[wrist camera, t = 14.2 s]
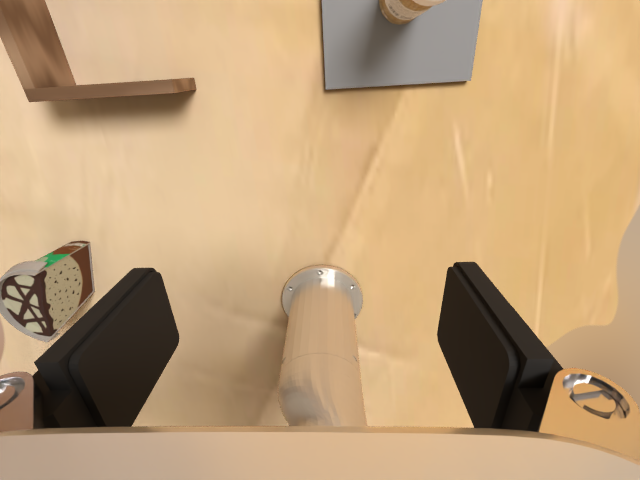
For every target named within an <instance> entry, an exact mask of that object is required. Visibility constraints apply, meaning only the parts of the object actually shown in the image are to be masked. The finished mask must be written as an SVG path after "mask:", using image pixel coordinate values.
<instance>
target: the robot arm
mask: <svg viewBox="0 0 640 480" xmlns="http://www.w3.org/2000/svg"><path fill="white" fill-rule="evenodd" d="M320 270H321V271H320ZM362 303H363V297H362V291H361V288H360V286H359V284H358V282H357V281H356V280H355V278H354V277H353V276H351V275H350V274H349V273H348V272H346V271H344V270H342V269H340V268H337V267H334V266H328V265H316V266H310V267H307V268H304V269H302V270H300V271H298V272H296V273H295V274H294V275H293V276H292V277H291V278H290V279H289V280H288V281H287V283H286V285H285V287H284V290H283V295H282V304H283V308H284V311H285V313H286V314H287V316H288V317H289V320H288V327H287V333H286V339H285V345H284V352H283V358H282V364H281V371H280V377H279V384H278V399H279V404H280V408H281V411H282V413H283V415H284V417H285V419H286V421H287V423H288V425H289V426H165V427H131V426H132V424H133V423H134V421H135V419H136V417H137V416H138V414H139V412H140V410H141V409H142V407H143V405H144V403H145V402H146V400H147V398H148V396H149V395H150V393H151V391H152V389H153V388H154V386H155V384H156V383H157V381H158V379H159V377H160V376H161V374H162V372H163V370H164V369H165V367H166V365H167V363H168V362H169V360H170V358H171V356H172V355H173V353H174V351H175V349H176V348H177V346H178V343H179V333H178V330H177V327H176V323H175V320H174V316H173V313H172V310H171V306H170V303H169V299H168V296H167V293H166V289H165V286H164V282H163V279H162V276H161V274H160V273H159V272H156V270H155V269H154V268H134V269H132V270H131V271H130V272H129V273H128V274H127V275H126V276H124V277H123V278H122V279H121V280H120V281H119V282H118V283H117V284H116V285H115V286H114V287H113V288H112V289H111V290H110V291H109V292H108V293H107V294H106V295H105V296H103V297H102V298H101V299H100V300H99V301H98V302H97V303H96V304H95V305H94V306H93V307H92V308H91V309H90V310H89V311H88V312H87V313H86V314H85V315H84V316H82V317H81V318H80V319H79V320H78V321H77V322H76V323H75V324H74V325H73V326H72V327H71V328H70V329H69V330H68V331H67V332H66V333H65V334H64V335H63V336H61V337H60V338H59V339H58V340H57V341H56V342H55V343H54V344H53V345H52V346H51V347H50V348H49V349H48V350H47V351H46V352H45V353H44V354H43V355H42V356H40V357H39V358H38V359H37V360H36V361H35V362H34V363H35V365H36V367H37V368H38V371H37V372H36V373H35V374H34V375H33V376H32V375H31V374H29V373H27V372H13V373H8V374H5V375H2V376H0V480H640V412H639V408H638V406H637V404H636V403H635V401H634V400H633V398H632V397H631V396H630V395H629V394H628V393H627V392H626V391H625V390H624V389H623V388H621V387H620V386H618V385H617V384H615V383H614V382H612V381H611V380H609V379H607V378H605V377H603V376H601V375H599V374H597V373H593V372H590V371H588V370H583V369H577V368H569V369H563V368H562V367H561V366H560V364H559V363H558V362H557V361H556V359H555V358H554V357H553V356H552V355H551V353H550V352H549V351H548V350H547V348H546V347H545V346H544V345H543V344H542V342H541V341H540V340H539V339H538V337H537V336H536V335H535V334H534V333H533V331H532V330H531V329H530V328H529V326H528V325H527V324H526V323H525V322H524V320H523V319H522V318H521V317H520V315H519V314H518V313H517V312H516V311H515V309H514V308H513V307H512V306H511V305H510V304H509V303H508V301H507V300H506V299H505V298H504V297H503V295H502V294H501V293H500V292H499V290H498V289H497V288H496V287H495V286H494V284H493V283H492V282H491V281H490V279H489V278H488V277H487V276H486V274H485V273H484V272H483V271H482V270H481V268H480V267H479V266H478V265H477V264H476V263H475V262H456V263H454V265H453V267H449V268H448V270H447V276H446V282H445V288H444V295H443V301H442V307H441V313H440V320H439V326H438V333H437V336H438V342H439V345H440V347H441V350H442V352H443V354H444V357H445V359H446V362H447V364H448V366H449V369H450V371H451V373H452V376H453V378H454V380H455V383H456V385H457V388H458V390H459V392H460V395H461V397H462V399H463V402H464V404H465V407H466V409H467V411H468V414H469V416H470V418H471V421H472V423H473V425H474V428H454V427H368V426H367V421H366V415H365V409H364V401H363V393H362V384H361V375H360V365H359V355H358V346H357V336H356V327H355V319H356V318H357V316H358V315H359V313H360V311H361V308H362Z"/></svg>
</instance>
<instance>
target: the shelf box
mask: <svg viewBox="0 0 640 480" xmlns="http://www.w3.org/2000/svg"><path fill="white" fill-rule="evenodd" d="M0 37H1V39H2V42H3V44H4V46H5V48H6V51H7V53H8V55H9V57H10V60H11V62H12V64H13V66H14V69H15V71H16V73H17V76H18V78H19V80H20V82H21V85H22V87H23V89H24V91H25V94H26V96H27V98H28V100H29V102H39V101H55V100H71V99H87V98H103V97H119V96H134V95H150V94H166V93H178V92H184V91H190V90H196V85H195V80H194V78H185V79H169V80H154V81H139V82H123V83H108V84H92V85H77V86H76V83H75V81H74V78H73V75H72V73H71V70H70V67H69V65H68V62H67V59H66V56H65V54H64V51H63V48H62V46H61V43H60V40H59V38H58V35H57V32H56V30H55V27H54V24H53V22H52V19H51V16H50V13H49V11H48V8H47V5H46V3H45V0H0Z"/></svg>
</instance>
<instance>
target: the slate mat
mask: <svg viewBox="0 0 640 480" xmlns="http://www.w3.org/2000/svg"><path fill="white" fill-rule="evenodd" d="M481 7H482V0H446V1H444V2H443V3H440V4H438V5H434V6H432V7H431V8H430V9H429V10H427V11H425V12H424V13H422V14H421V15H419V16H417V17H415V18H414V19H413V20H412V21H410V22H408V23H406V24H400V25H398V24H393V23H391V22H389V21H388V20H387V19H386V18H385V17H384V16H383V14H382V12H381V9H380V4H379V0H322V19H323V41H324V63H325V86H326V90H327V89H343V88H359V87H375V86H391V85H407V84H424V83H440V82H456V81H471V76H472V69H473V62H474V56H475V49H476V42H477V35H478V28H479V21H480V14H481Z"/></svg>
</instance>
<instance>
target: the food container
mask: <svg viewBox="0 0 640 480" xmlns="http://www.w3.org/2000/svg"><path fill="white" fill-rule="evenodd" d="M94 292H95V288H94V278H93V267H92V257H91V247H90V242H86V241H75V242H71V243H69V244H66V245H64V246H62V247H61V248H59V249H57V250H55V251H53V252H51V253H49V254H47V255H45V256H44V257H42V258H40V259H38V260H36V261H29V262H23V263H19V264H17V265H15V266H13V267H12V268H11V269H9V270H8V271H7V272H6V273H5V274H4V275H3V276H2V277H1V279H0V313H1V314H2V316H3V317H4V318H5V319H6V320H7V321H8V322H9V323H10V324H11V325H12V326H14V327H15V328H16V329H18V330H19V331H21V332H22V333H24V334H26V335H28V336H30V337H32V338H35V339H38V340H41V341H45V342H49V341H50V340H53V339H54V338H55V337H56V336H58V335H59V334H60V333H57V332H58V331H59V330H60V329H61V328H62V327H63V326H64V325H65V324H66V322H67V321H68V320H69V319H70V318H71V317H72V316H73V315H74V314H75V313H76V312H77V310H78V309H79V308H80V307H81V306H82V305H83V304H84V303H85V302H86V301H87V299H88V298H89V297H90V296H91V295H92V294H93V293H94Z"/></svg>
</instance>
